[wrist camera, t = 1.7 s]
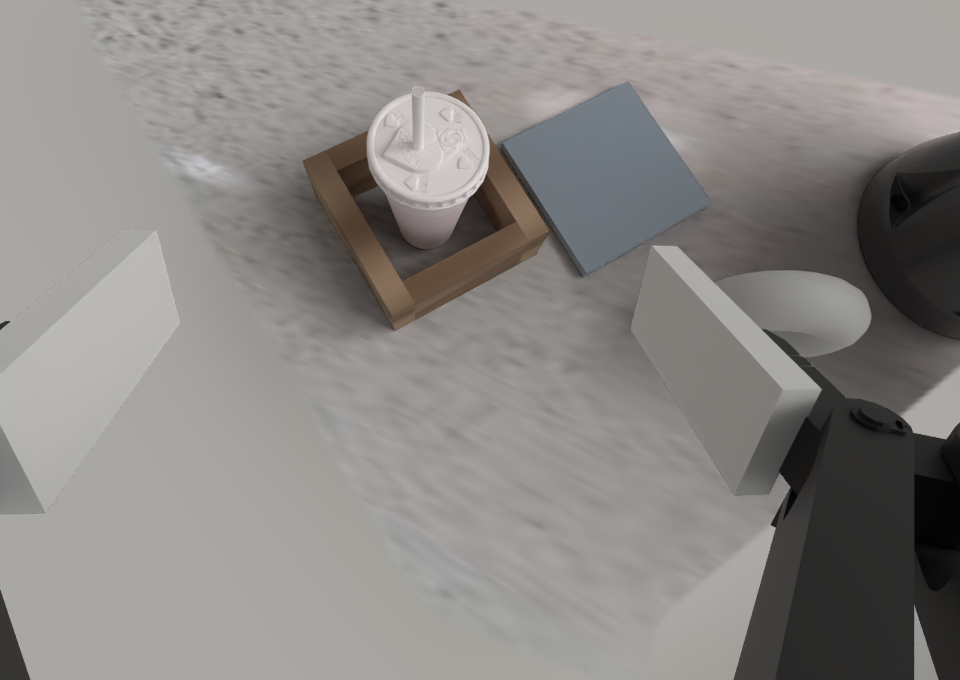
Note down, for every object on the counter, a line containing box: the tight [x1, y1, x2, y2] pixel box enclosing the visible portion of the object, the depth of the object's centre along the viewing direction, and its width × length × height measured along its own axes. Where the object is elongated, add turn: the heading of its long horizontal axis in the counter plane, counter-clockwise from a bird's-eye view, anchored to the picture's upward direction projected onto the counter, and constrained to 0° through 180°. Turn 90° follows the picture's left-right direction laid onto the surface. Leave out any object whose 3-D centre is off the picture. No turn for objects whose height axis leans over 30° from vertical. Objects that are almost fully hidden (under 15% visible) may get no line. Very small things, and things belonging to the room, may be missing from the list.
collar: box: [303, 90, 550, 331], centre depth 35 cm, size 11×11×4 cm
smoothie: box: [367, 86, 490, 249], centre depth 31 cm, size 6×6×14 cm
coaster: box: [501, 82, 712, 277], centre depth 39 cm, size 11×11×1 cm
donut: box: [714, 270, 872, 358], centre depth 33 cm, size 10×4×10 cm, turn 83°
